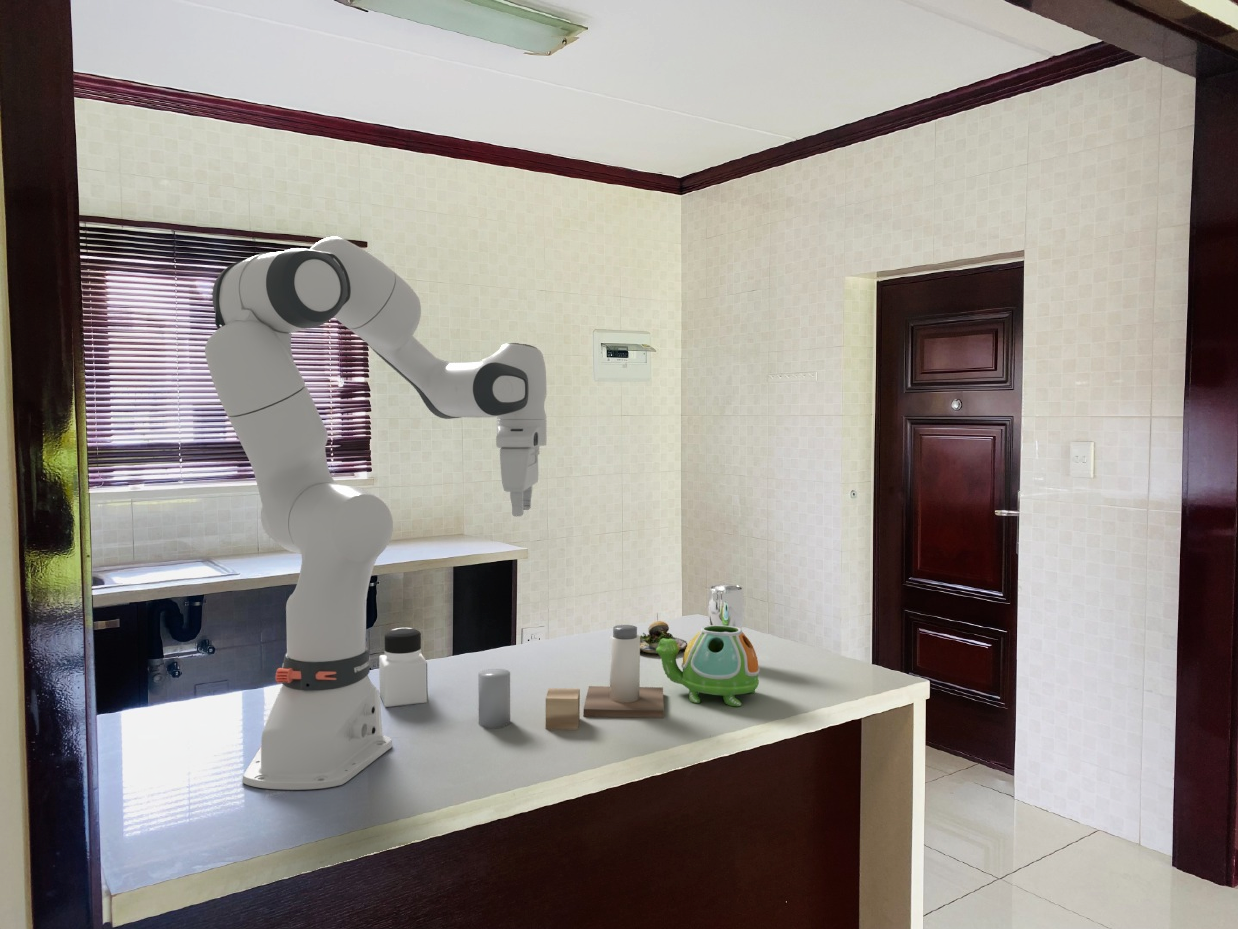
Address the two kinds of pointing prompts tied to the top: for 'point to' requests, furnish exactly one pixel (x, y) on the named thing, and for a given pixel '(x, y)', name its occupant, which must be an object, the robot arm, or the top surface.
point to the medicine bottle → (403, 669)
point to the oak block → (562, 708)
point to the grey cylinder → (494, 698)
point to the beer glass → (726, 605)
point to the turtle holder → (713, 663)
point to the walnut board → (605, 707)
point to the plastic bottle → (624, 664)
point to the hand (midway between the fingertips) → (521, 512)
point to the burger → (658, 637)
